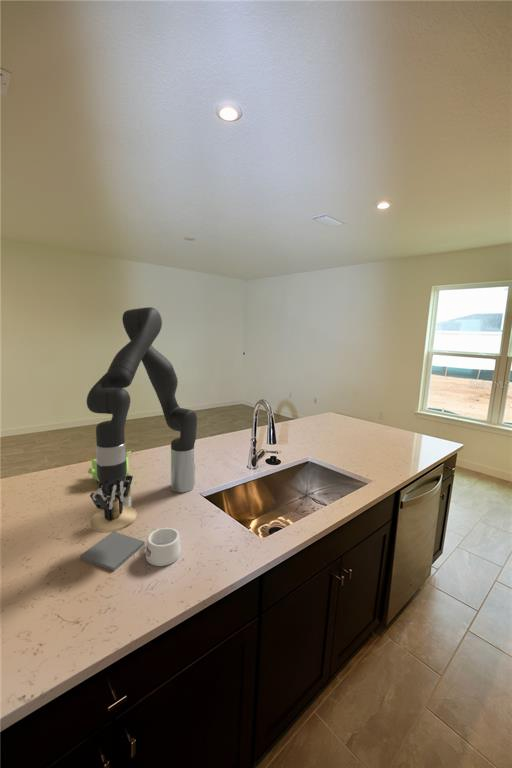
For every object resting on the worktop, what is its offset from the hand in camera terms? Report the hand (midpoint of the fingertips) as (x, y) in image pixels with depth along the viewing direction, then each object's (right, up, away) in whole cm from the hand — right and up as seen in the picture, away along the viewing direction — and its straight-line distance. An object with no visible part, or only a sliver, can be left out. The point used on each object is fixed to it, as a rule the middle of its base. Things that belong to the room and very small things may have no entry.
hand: (114, 516), depth 90 cm
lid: (0, -1, 0) cm, 1 cm away
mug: (+13, -12, +2) cm, 18 cm away
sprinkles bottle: (-4, -8, +18) cm, 20 cm away
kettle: (-21, -4, +45) cm, 49 cm away
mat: (-1, -11, +2) cm, 11 cm away
